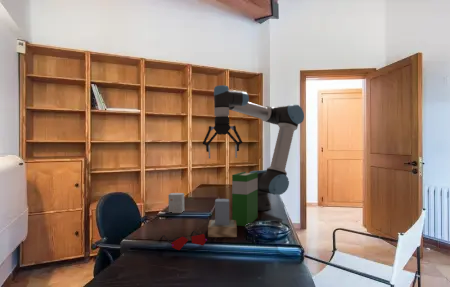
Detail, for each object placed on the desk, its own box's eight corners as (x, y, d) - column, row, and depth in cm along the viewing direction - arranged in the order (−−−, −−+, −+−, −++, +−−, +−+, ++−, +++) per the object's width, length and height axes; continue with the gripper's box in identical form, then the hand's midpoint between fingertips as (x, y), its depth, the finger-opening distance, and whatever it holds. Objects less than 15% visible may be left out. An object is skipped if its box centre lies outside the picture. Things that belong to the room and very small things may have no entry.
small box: (184, 211, 171) (184, 192, 171) (182, 213, 165) (182, 194, 165) (171, 210, 171) (171, 192, 171) (168, 213, 166) (168, 194, 166)
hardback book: (244, 216, 158) (244, 171, 158) (257, 217, 155) (257, 172, 155) (232, 224, 141) (232, 174, 141) (247, 226, 139) (246, 175, 139)
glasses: (171, 252, 106) (171, 238, 106) (160, 239, 121) (160, 227, 121) (207, 246, 113) (207, 233, 113) (192, 234, 127) (192, 222, 127)
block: (229, 221, 132) (229, 198, 132) (229, 224, 126) (229, 201, 126) (215, 221, 132) (215, 198, 132) (215, 224, 126) (215, 201, 126)
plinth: (236, 228, 135) (236, 219, 135) (236, 237, 123) (236, 226, 123) (209, 228, 135) (209, 219, 135) (208, 237, 123) (207, 226, 123)
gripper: (245, 116, 154) (246, 157, 155) (197, 117, 154) (198, 158, 154) (247, 115, 147) (248, 157, 147) (196, 116, 146) (197, 159, 147)
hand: (222, 158), depth 151 cm, fingers open, 13 cm apart
